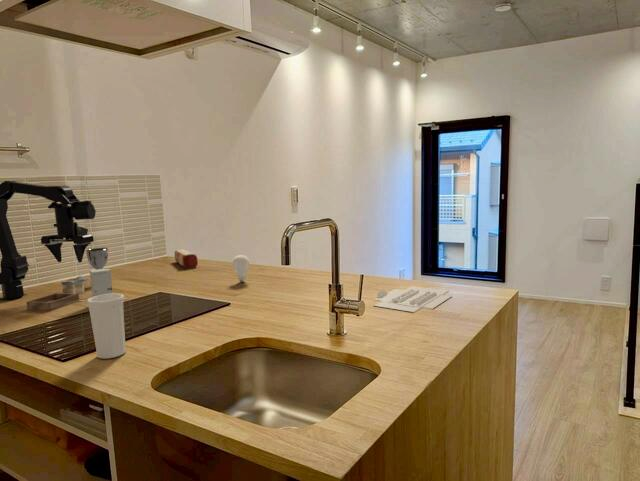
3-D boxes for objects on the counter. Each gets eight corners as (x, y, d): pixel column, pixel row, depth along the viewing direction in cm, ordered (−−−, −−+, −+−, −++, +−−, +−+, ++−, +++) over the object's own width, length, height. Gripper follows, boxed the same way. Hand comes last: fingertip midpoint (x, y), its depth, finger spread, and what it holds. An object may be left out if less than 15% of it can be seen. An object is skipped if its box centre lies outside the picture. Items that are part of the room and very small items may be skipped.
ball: (73, 285, 183) (72, 276, 183) (80, 283, 186) (79, 275, 186) (81, 285, 182) (80, 277, 182) (87, 283, 185) (86, 275, 185)
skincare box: (94, 307, 151) (90, 272, 149) (92, 304, 154) (88, 270, 153) (114, 304, 154) (110, 269, 152) (112, 301, 158) (108, 267, 156)
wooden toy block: (63, 297, 167) (61, 281, 166) (73, 293, 171) (72, 278, 171) (74, 297, 165) (72, 281, 164) (85, 294, 170) (83, 278, 169)
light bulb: (247, 284, 176) (245, 256, 174) (231, 284, 177) (229, 256, 175) (252, 280, 182) (251, 253, 180) (237, 280, 183) (235, 253, 182)
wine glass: (85, 287, 180) (81, 250, 178) (100, 282, 188) (96, 247, 186) (101, 288, 178) (96, 251, 176) (116, 283, 185) (112, 247, 183)
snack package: (174, 262, 229) (173, 248, 228) (188, 260, 233) (187, 247, 232) (183, 269, 210) (182, 254, 209) (198, 267, 213) (197, 253, 212)
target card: (69, 300, 161) (69, 299, 161) (88, 294, 170) (87, 293, 170) (82, 301, 160) (82, 300, 159) (101, 294, 168) (101, 293, 168)
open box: (27, 309, 152) (26, 302, 151) (56, 299, 163) (55, 292, 163) (51, 310, 149) (50, 303, 149) (79, 300, 161) (78, 293, 160)
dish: (67, 287, 182) (66, 282, 182) (80, 283, 189) (79, 278, 188) (81, 288, 180) (80, 282, 180) (94, 283, 187) (93, 278, 186)
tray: (458, 294, 152) (458, 283, 152) (425, 320, 130) (424, 308, 130) (403, 287, 164) (403, 277, 164) (364, 310, 142) (363, 299, 142)
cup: (96, 364, 103) (89, 304, 101) (90, 354, 110) (83, 297, 108) (133, 355, 108) (127, 297, 106) (125, 345, 114) (119, 291, 112)
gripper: (102, 217, 169) (106, 258, 172) (62, 218, 174) (66, 257, 177) (79, 220, 159) (84, 264, 161) (37, 221, 164) (42, 263, 166)
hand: (70, 262), depth 166 cm, fingers open, 9 cm apart
